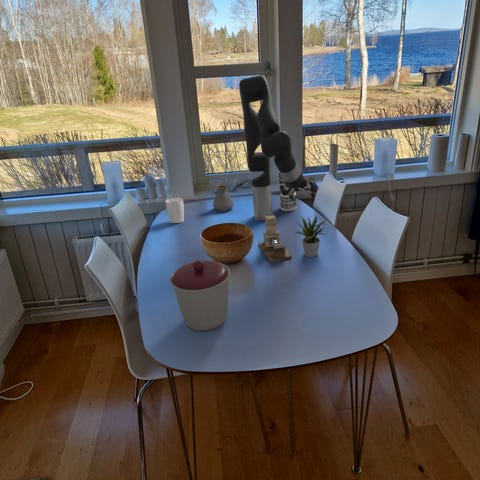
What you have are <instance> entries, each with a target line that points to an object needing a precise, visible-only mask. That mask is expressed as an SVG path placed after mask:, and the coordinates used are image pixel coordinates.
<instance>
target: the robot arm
mask: <svg viewBox="0 0 480 480" xmlns="http://www.w3.org/2000/svg"><path fill="white" fill-rule="evenodd" d="M238 90H239V97H240V102H241V107H242V109H241V110H242V112H243V113H242V115H243V129H244V130H243V131H244V138H245V143H246V165H247V169H248V171H249V172H251V173H260V172H262V173H261V174H260V175H258V176H257V177H256V176H255V177H254V178H252V180H251V190H252V204H253V205H252V206H253V214H254V215H253V217H254V219H255V220H256V221H261V222H263V221H266V219H265V216H272V215H273V200H272V185H271V184H272V182H271V172H270V171H271V158H274V159H273V162H274V164H275V166H276V168H277V169H278V173H280V175H281V177H282V179H283V181H284V182H285V184H283V182H280V181H279V182H280V184H279V190H280V193H281V192H282V194H283V196H285V195H287V196H289V198H290V199H291V200H292V201H294V199H295V196H294V194H293V191H295V192H304V193H309V195H310V196H311V198H312V199H315V198H316V193H317V192H318V184H317V183H316V180H315V178H313V177H310V179H309V180H307V179H305V176H304V174H303V172H302V170H301V168H300V166H299V164H298V162H297V161H296V159H295V157H294V155H293V152H292V142H291V141H292V139H291V137H290V135H289V133H288V132H286V131H284V130H281V126H280V124H279V121H278V118H277V116H276V114H275V110H274V104H273V100H272V96H271V95H272V94H271V92H270V88H269V83H268V80H267V79H266V77H265V75H254V76H250V77H245V78H243V79H240V81H239V86H238ZM260 101H262V103H261V105H260V107H259V109H258V110H257V111H256V110H255V109H254V107H253V106H252V105H251V104H252V103H255V102H260ZM259 147H260V149H261V151H257V149H258V148H259ZM256 151H257V152H256ZM285 187H287V188H289V190H286V188H285Z"/></svg>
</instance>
